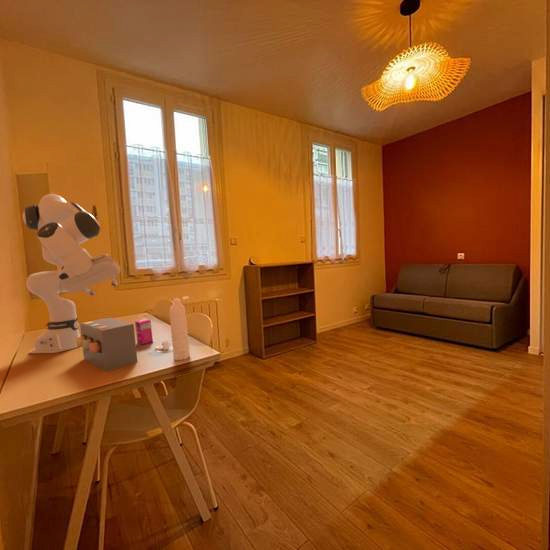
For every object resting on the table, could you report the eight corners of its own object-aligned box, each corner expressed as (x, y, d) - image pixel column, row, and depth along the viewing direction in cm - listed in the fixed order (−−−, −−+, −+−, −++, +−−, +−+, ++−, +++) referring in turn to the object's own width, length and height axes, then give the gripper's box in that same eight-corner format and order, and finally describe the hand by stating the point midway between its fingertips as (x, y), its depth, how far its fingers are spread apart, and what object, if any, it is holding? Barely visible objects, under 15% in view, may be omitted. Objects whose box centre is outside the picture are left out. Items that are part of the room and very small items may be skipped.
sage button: (86, 351, 122) (84, 341, 122) (82, 349, 125) (81, 339, 125) (94, 349, 125) (93, 339, 124) (90, 347, 127) (89, 337, 127)
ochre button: (79, 347, 128) (78, 338, 128) (76, 346, 131) (75, 337, 130) (87, 345, 130) (86, 336, 130) (84, 344, 133) (83, 335, 132)
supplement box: (136, 343, 155) (134, 321, 154) (148, 340, 159) (146, 318, 158) (141, 345, 151) (139, 322, 150) (153, 342, 155) (151, 320, 154)
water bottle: (178, 361, 124) (172, 300, 122) (170, 358, 129) (165, 299, 127) (197, 355, 130) (192, 296, 128) (189, 352, 135) (184, 296, 133)
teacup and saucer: (152, 350, 142) (152, 342, 142) (169, 346, 148) (168, 338, 148) (161, 354, 136) (160, 345, 136) (177, 349, 142) (177, 341, 141)
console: (106, 371, 118) (101, 329, 117) (83, 359, 135) (79, 322, 134) (137, 362, 127) (133, 323, 125) (112, 351, 144) (109, 316, 143)
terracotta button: (92, 354, 117) (91, 344, 117) (89, 352, 120) (88, 342, 119) (101, 352, 119) (100, 342, 119) (97, 350, 122) (96, 340, 122)
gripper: (108, 248, 113) (130, 274, 123) (56, 269, 113) (82, 294, 122) (105, 257, 109) (129, 284, 118) (51, 280, 108) (78, 305, 117)
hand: (104, 289), depth 120 cm, fingers open, 8 cm apart
